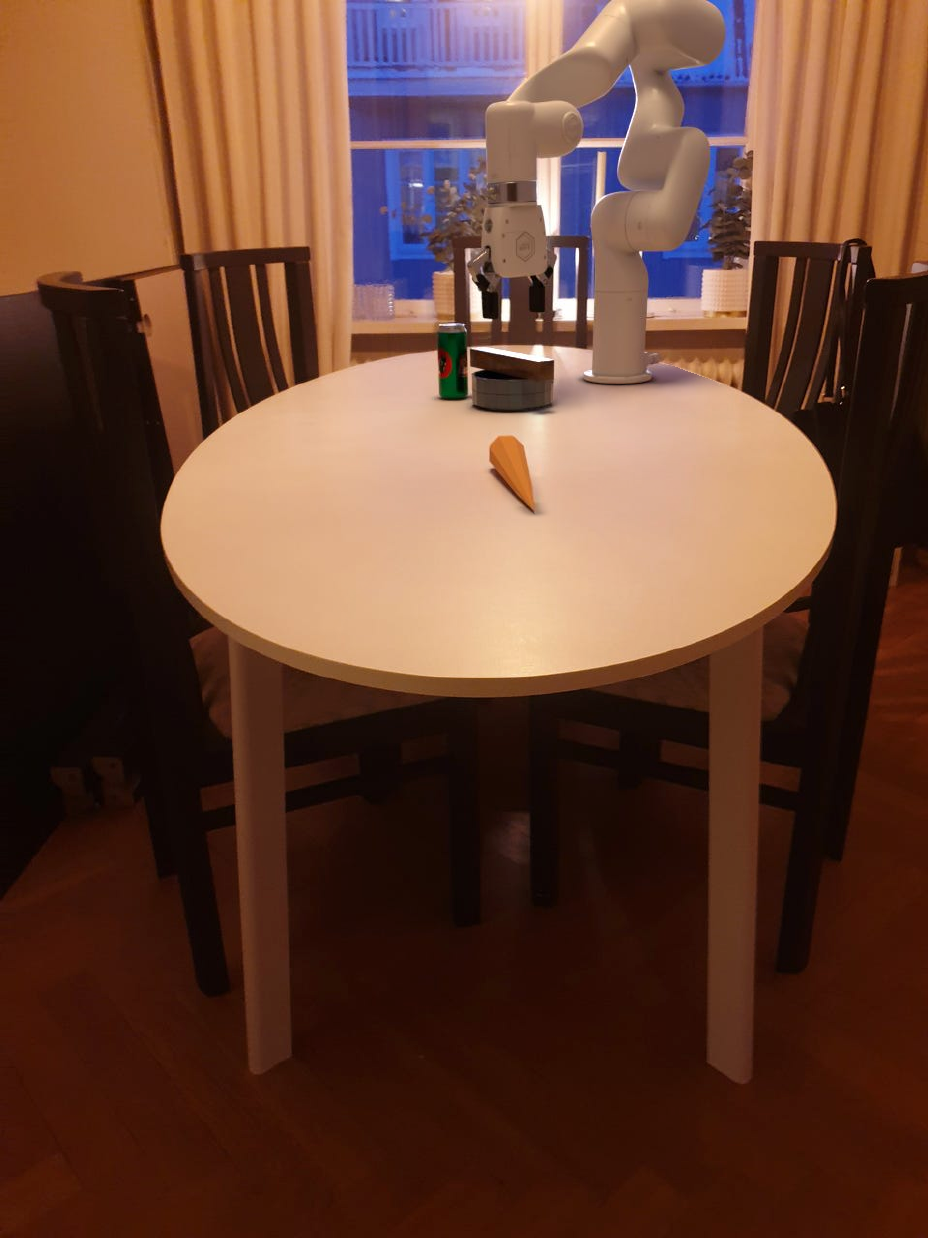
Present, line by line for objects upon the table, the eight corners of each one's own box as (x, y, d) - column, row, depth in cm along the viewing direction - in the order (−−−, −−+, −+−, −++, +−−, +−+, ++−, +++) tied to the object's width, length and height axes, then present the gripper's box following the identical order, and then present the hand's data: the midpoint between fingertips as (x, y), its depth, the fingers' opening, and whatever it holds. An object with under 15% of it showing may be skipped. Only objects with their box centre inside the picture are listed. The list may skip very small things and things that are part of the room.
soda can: (465, 400, 152) (463, 326, 147) (436, 400, 153) (433, 326, 148) (470, 395, 157) (469, 322, 152) (442, 394, 158) (439, 322, 153)
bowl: (516, 394, 156) (516, 364, 154) (569, 404, 147) (570, 373, 144) (456, 404, 149) (455, 373, 147) (507, 416, 139) (507, 383, 137)
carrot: (494, 471, 112) (480, 439, 110) (527, 456, 111) (514, 423, 109) (522, 537, 95) (506, 501, 92) (561, 520, 94) (546, 483, 92)
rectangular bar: (484, 364, 155) (484, 346, 154) (554, 379, 139) (554, 359, 138) (469, 366, 154) (469, 348, 152) (538, 381, 138) (538, 361, 137)
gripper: (483, 197, 128) (486, 323, 135) (571, 193, 137) (570, 311, 144) (451, 198, 133) (456, 319, 140) (538, 194, 143) (538, 308, 150)
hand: (514, 315), depth 142 cm, fingers open, 9 cm apart
